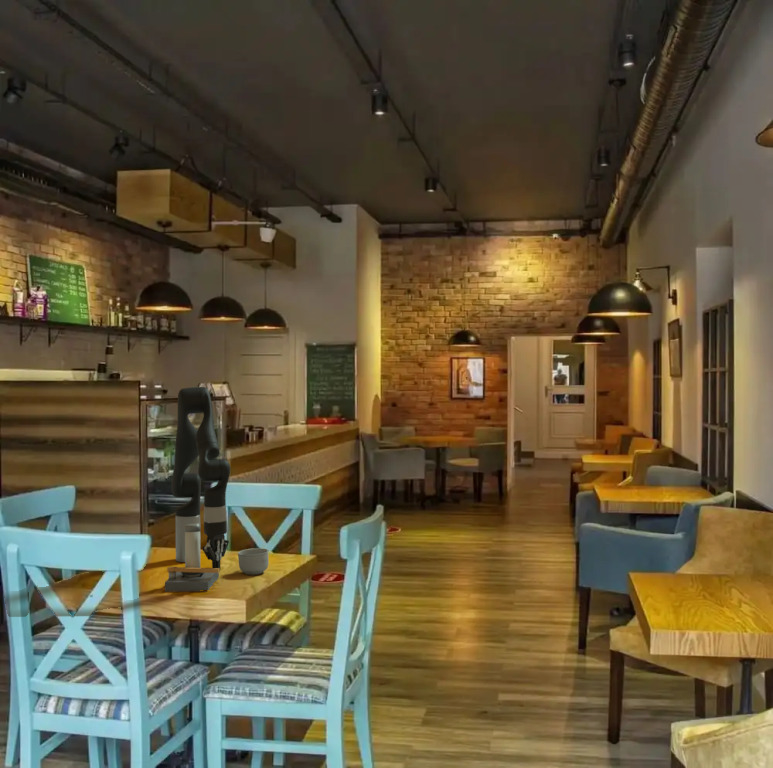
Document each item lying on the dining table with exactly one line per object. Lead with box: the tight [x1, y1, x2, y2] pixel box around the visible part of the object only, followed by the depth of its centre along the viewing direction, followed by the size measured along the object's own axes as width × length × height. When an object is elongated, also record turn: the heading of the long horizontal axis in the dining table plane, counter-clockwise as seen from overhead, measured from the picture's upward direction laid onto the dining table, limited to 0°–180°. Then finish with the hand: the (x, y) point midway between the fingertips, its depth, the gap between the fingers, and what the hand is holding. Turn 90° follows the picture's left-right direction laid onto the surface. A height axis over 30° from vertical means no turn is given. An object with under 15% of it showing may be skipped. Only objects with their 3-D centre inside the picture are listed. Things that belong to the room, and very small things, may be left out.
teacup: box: [237, 547, 269, 576], centre depth 310 cm, size 14×11×8 cm
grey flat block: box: [164, 572, 220, 592], centre depth 292 cm, size 20×14×5 cm
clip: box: [166, 566, 221, 574], centre depth 287 cm, size 3×18×1 cm, turn 83°
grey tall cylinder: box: [181, 523, 202, 577], centre depth 292 cm, size 8×8×20 cm
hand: (216, 571), depth 289 cm, fingers closed
